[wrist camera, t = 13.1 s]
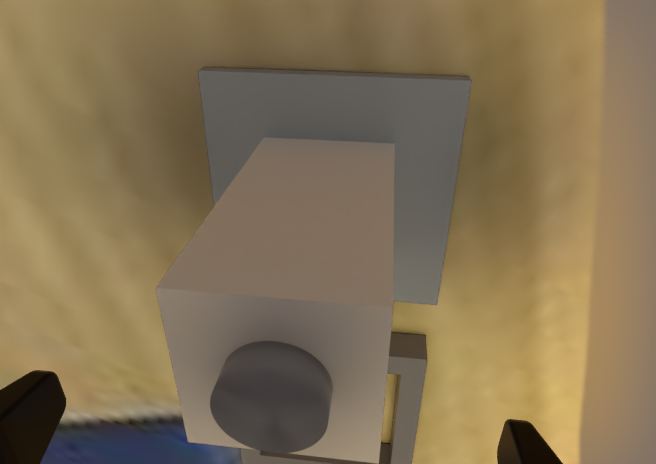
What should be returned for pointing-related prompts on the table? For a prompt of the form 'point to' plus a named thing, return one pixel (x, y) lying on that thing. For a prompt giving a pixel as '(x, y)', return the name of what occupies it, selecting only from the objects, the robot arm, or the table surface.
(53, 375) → the robot arm
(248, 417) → the beige block
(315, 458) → the collar
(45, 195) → the table surface
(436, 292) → the slate pad
